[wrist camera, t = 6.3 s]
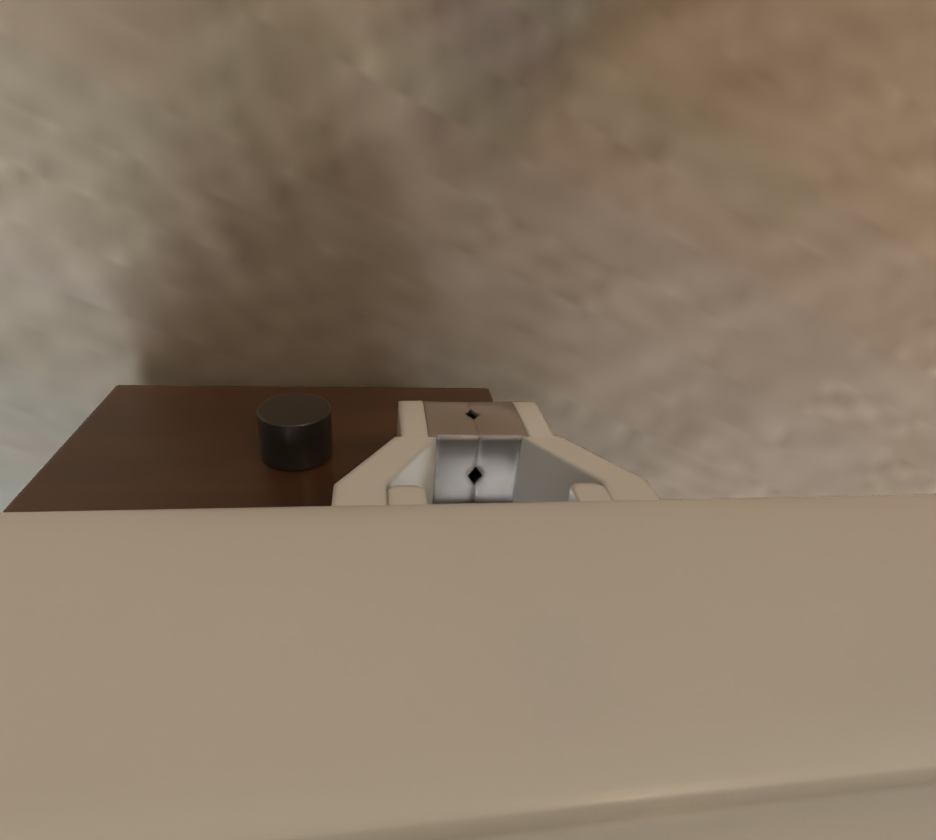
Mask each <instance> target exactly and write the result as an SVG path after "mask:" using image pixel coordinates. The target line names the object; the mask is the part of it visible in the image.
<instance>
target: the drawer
mask: <svg viewBox="0 0 936 840" xmlns="http://www.w3.org/2000/svg"><path fill="white" fill-rule="evenodd" d="M399 401H430V402H467V403H468V402H493V399H492V397H491V394H490V392H489V389H487V388H388V387H272V386H156V385H118V386H116V387H115V388H114V389H113V390H112V391H111V392H110V394H109V395H108V396H107V397H106V398H105V399H104V400H103V401H102V402H101V404H100V405H99V406H98V407H97V408H96V409H95V410H94V411H93V412H92V414H91V415H90V416H89V417H88V418H87V419H86V420H85V421H84V422H83V424H82V425H81V426H80V427H79V428H78V429H77V430H76V431H75V432H74V433H73V435H72V436H71V437H70V438H69V439H68V440H67V441H66V442H65V443H64V445H63V446H62V447H61V448H60V449H59V450H58V451H57V452H56V453H55V455H54V456H53V457H52V458H51V459H50V460H49V461H48V462H47V463H46V464H45V466H44V467H43V468H42V469H41V470H40V471H39V472H38V473H37V474H36V476H35V477H34V478H33V479H32V480H31V481H30V482H29V483H28V484H27V486H26V487H25V488H24V489H23V490H22V491H21V492H20V493H19V494H18V496H17V497H16V498H15V499H14V500H13V501H12V502H11V503H10V504H9V505H8V507H7V508H6V509H5V510H4V511H3V512H51V511H101V510H151V509H201V508H251V507H302V506H331V505H332V496H333V488H334V484H336V483H337V482H338V481H339V480H341V479H342V478H343V477H345V476H346V475H347V474H348V473H350V472H351V471H352V470H353V469H355V468H356V467H357V466H358V465H360V464H361V463H362V462H364V461H365V460H366V459H367V458H369V457H370V456H371V455H372V454H374V453H375V452H376V451H378V450H379V449H380V448H381V447H383V446H384V445H385V444H386V443H388V442H389V441H390V440H392V439H393V438H394V437H397V421H398V403H399Z"/></svg>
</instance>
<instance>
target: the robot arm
mask: <svg viewBox="0 0 936 840" xmlns="http://www.w3.org/2000/svg"><path fill="white" fill-rule="evenodd" d="M0 840H936V494H922V495H872V496H821V497H771V498H721V499H670V500H660V498H659V497H658V495H657V494H656V493H655V491H654V490H653V488H652V487H651V486H650V484H649V483H648V481H646V480H644V479H642V478H640V477H638V476H636V475H634V474H632V473H630V472H629V471H627V470H625V469H623V468H621V467H619V466H617V465H615V464H613V463H611V462H609V461H607V460H605V459H603V458H601V457H599V456H597V455H595V454H593V453H591V452H589V451H587V450H586V449H584V448H582V447H580V446H578V445H576V444H574V443H572V442H570V441H568V440H566V439H564V438H562V437H554V436H553V434H552V432H551V430H550V428H549V427H548V425H547V423H546V421H545V419H544V417H543V416H542V414H541V412H540V410H539V408H538V407H537V405H536V403H534V402H468V403H467V402H430V401H399V403H398V421H397V437H394V438H393V439H392V440H390V441H389V442H388V443H386V444H385V445H384V446H383V447H381V448H380V449H379V450H378V451H376V452H375V453H374V454H372V455H371V456H370V457H369V458H367V459H366V460H365V461H364V462H362V463H361V464H360V465H358V466H357V467H356V468H355V469H353V470H352V471H351V472H350V473H348V474H347V475H346V476H345V477H343V478H342V479H341V480H339V481H338V482H337V483H336V484H334V488H333V496H332V505H331V506H302V507H251V508H201V509H151V510H101V511H51V512H1V513H0Z"/></svg>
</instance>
